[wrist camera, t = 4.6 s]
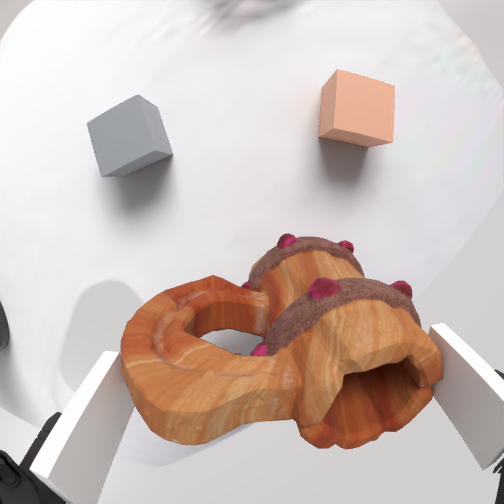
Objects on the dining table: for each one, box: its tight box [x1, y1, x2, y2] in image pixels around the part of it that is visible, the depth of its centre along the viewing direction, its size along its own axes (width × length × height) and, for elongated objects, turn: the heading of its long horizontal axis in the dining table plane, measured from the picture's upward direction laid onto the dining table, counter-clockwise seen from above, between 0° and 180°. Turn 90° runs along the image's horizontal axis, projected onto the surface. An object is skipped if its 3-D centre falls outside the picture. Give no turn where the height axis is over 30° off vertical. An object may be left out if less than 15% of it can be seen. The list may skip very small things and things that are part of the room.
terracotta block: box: [318, 69, 395, 147], centre depth 20 cm, size 5×5×5 cm
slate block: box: [87, 95, 173, 177], centre depth 21 cm, size 5×5×5 cm
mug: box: [121, 234, 443, 449], centre depth 15 cm, size 15×8×15 cm, turn 84°
